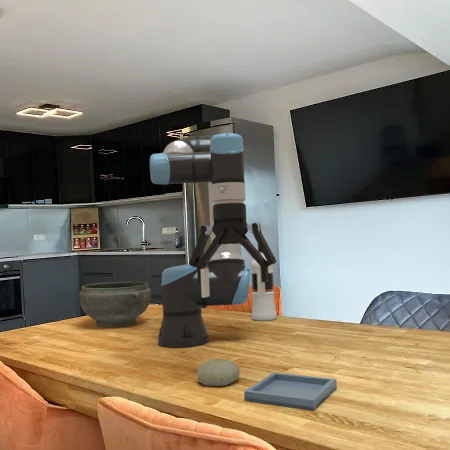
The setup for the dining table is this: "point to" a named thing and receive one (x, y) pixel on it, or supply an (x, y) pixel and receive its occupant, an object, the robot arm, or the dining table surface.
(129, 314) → the bowl
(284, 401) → the tray
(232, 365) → the sea urchin shell
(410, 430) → the dining table surface
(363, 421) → the dining table surface
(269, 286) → the vodka
